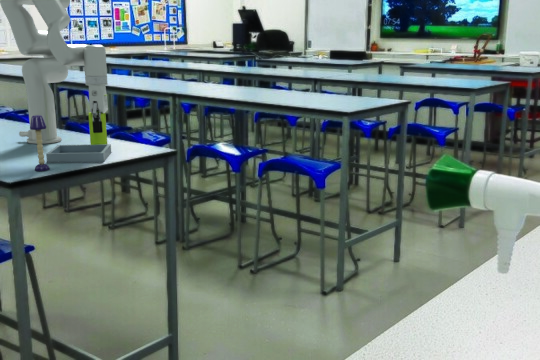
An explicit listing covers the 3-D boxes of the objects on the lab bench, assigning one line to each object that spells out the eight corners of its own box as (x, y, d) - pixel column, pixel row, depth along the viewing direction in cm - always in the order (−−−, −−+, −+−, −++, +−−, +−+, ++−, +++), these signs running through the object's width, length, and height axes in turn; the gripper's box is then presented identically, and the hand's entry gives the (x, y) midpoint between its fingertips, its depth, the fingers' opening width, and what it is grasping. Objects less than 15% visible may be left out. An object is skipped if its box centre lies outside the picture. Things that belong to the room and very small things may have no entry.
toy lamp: (30, 170, 183) (25, 116, 179) (41, 167, 188) (36, 114, 184) (43, 171, 182) (38, 116, 178) (53, 168, 186) (49, 115, 182)
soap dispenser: (105, 150, 215) (102, 94, 210) (87, 149, 217) (83, 94, 211) (113, 147, 221) (109, 92, 216) (95, 146, 222) (91, 92, 217)
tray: (46, 162, 194) (46, 153, 193) (58, 153, 210) (57, 145, 209) (103, 162, 196) (103, 153, 195) (111, 152, 211) (110, 144, 211)
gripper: (103, 82, 205) (106, 134, 209) (110, 79, 222) (113, 127, 226) (80, 82, 204) (84, 135, 208) (90, 79, 221) (93, 127, 225)
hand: (99, 130), depth 217 cm, fingers closed on soap dispenser, 6 cm apart
